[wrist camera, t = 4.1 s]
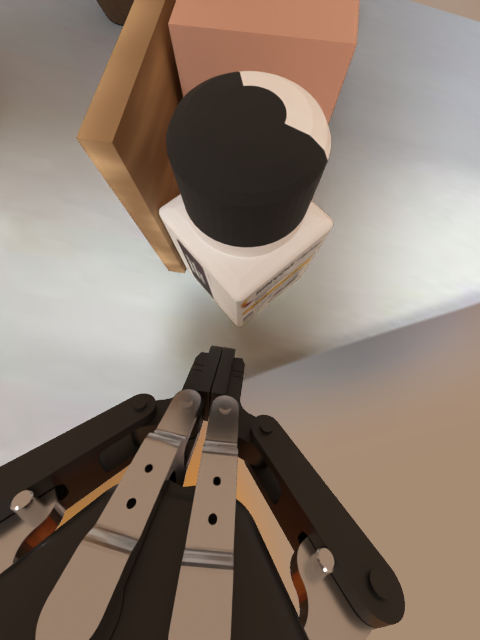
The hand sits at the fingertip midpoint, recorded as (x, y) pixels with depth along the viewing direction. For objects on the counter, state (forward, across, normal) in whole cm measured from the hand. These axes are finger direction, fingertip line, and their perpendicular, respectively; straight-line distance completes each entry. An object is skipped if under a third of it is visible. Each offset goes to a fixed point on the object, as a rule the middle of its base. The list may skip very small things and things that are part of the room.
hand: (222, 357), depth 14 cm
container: (+10, 0, -2) cm, 10 cm away
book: (+16, 0, -9) cm, 18 cm away
